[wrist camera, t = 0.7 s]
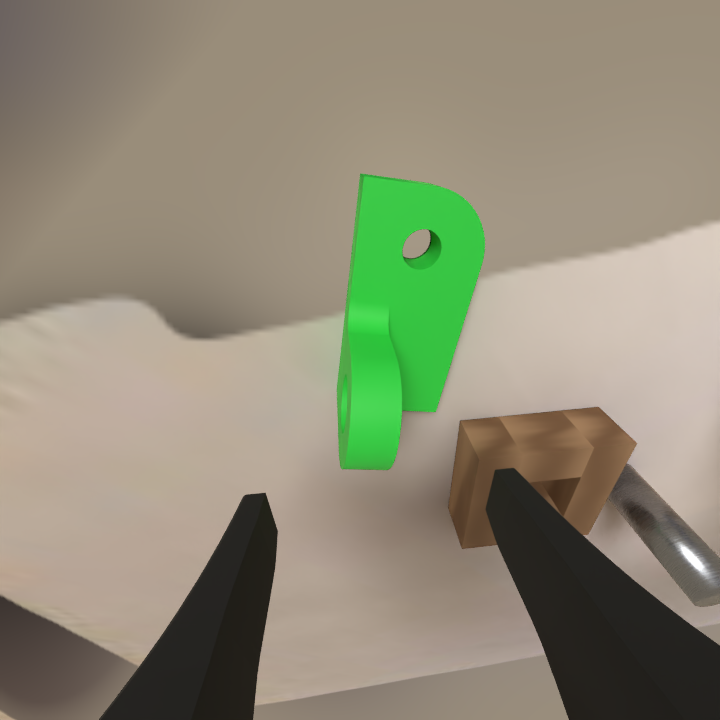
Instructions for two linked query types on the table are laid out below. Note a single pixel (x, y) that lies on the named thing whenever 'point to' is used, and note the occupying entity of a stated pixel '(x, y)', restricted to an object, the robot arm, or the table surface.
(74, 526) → the table surface
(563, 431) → the square wooden ring
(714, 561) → the metal peg
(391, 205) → the mechanical part
